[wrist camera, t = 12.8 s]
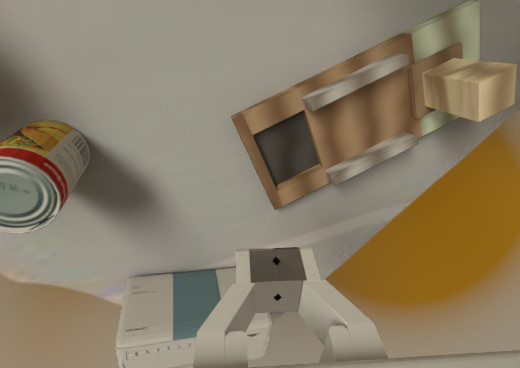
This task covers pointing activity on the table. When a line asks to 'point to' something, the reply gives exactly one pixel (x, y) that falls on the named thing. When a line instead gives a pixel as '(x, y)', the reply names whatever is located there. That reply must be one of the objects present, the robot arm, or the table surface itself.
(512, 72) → the wood block
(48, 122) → the canned food
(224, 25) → the table surface
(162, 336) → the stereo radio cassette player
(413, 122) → the track
